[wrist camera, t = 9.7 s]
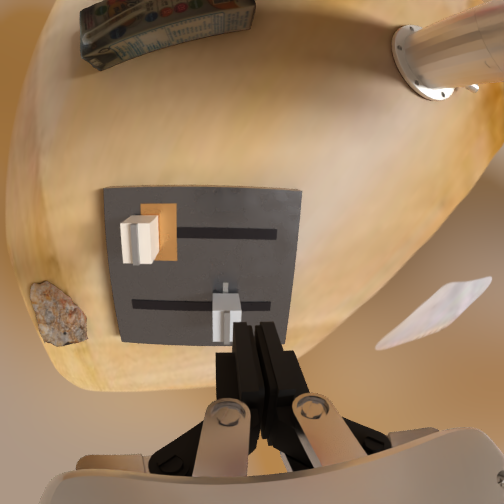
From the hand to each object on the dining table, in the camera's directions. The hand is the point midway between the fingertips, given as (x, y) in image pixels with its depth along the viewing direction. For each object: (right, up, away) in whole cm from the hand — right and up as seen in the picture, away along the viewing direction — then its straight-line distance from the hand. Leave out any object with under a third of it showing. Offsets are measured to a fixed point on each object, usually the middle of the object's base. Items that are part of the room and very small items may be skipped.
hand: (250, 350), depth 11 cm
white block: (-3, -3, +22) cm, 22 cm away
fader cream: (-11, +6, +18) cm, 22 cm away
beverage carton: (-10, +32, +13) cm, 35 cm away
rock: (-28, -4, +22) cm, 36 cm away
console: (-6, +2, +22) cm, 23 cm away
